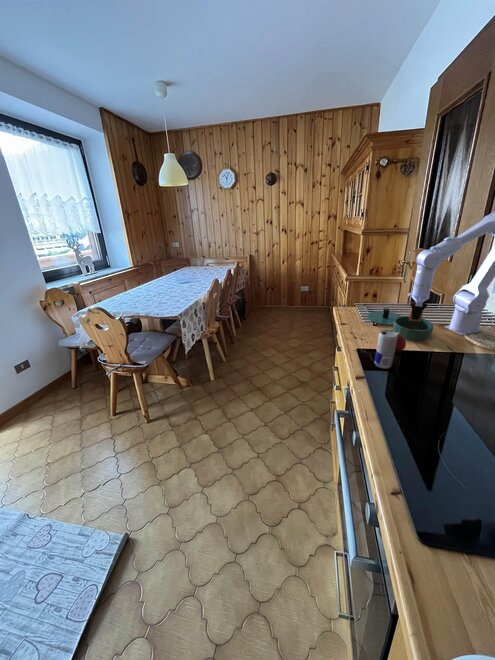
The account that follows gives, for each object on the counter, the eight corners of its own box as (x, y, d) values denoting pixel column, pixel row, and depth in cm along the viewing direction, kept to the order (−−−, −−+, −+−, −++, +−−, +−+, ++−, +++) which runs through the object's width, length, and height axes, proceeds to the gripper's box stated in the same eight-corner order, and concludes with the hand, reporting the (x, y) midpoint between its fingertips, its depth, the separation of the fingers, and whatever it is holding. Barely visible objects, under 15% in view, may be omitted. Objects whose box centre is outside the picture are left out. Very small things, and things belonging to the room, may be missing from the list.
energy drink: (377, 358, 99) (382, 328, 93) (393, 363, 96) (400, 332, 90) (372, 365, 95) (377, 334, 90) (388, 371, 92) (395, 339, 87)
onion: (405, 357, 99) (410, 337, 95) (388, 356, 100) (392, 336, 96) (401, 348, 104) (405, 329, 100) (384, 347, 105) (388, 328, 101)
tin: (411, 324, 120) (414, 313, 118) (438, 338, 108) (441, 327, 106) (384, 330, 117) (386, 319, 115) (409, 345, 105) (412, 333, 103)
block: (409, 316, 114) (411, 307, 112) (420, 317, 112) (423, 308, 110) (408, 320, 111) (410, 311, 109) (420, 322, 109) (422, 312, 107)
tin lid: (387, 311, 133) (389, 301, 131) (410, 323, 121) (413, 312, 119) (360, 316, 130) (362, 305, 128) (381, 329, 118) (383, 318, 116)
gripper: (411, 277, 112) (405, 308, 118) (409, 288, 101) (402, 322, 107) (432, 278, 109) (424, 311, 115) (432, 290, 98) (423, 325, 104)
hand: (415, 316), depth 111 cm, fingers closed on block, 4 cm apart
